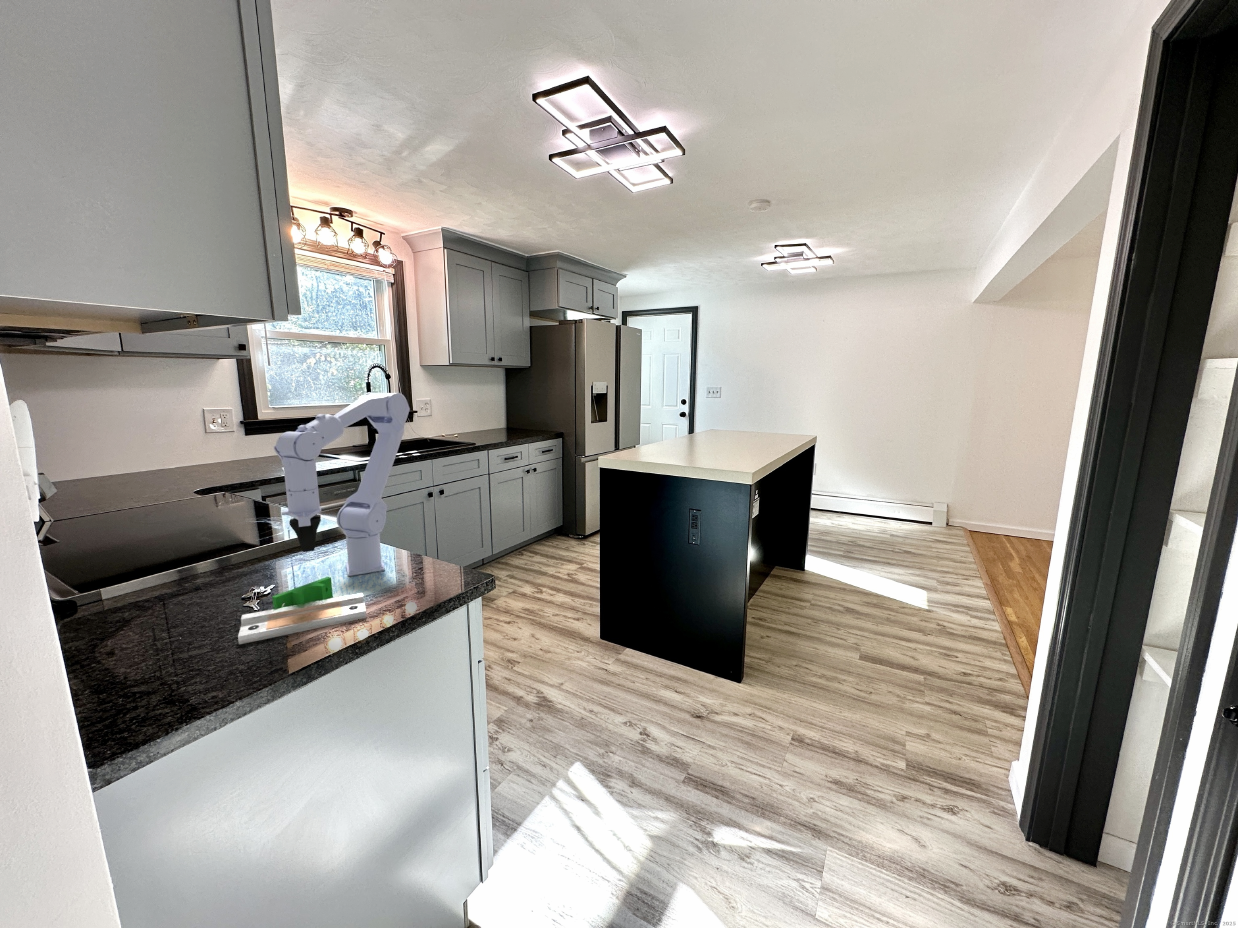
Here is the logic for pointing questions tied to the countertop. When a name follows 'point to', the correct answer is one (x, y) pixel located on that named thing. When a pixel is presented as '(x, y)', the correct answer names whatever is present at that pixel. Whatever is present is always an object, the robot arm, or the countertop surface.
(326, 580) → the green angular block
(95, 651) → the countertop surface
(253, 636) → the rail
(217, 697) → the countertop surface
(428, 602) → the countertop surface
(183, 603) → the countertop surface
